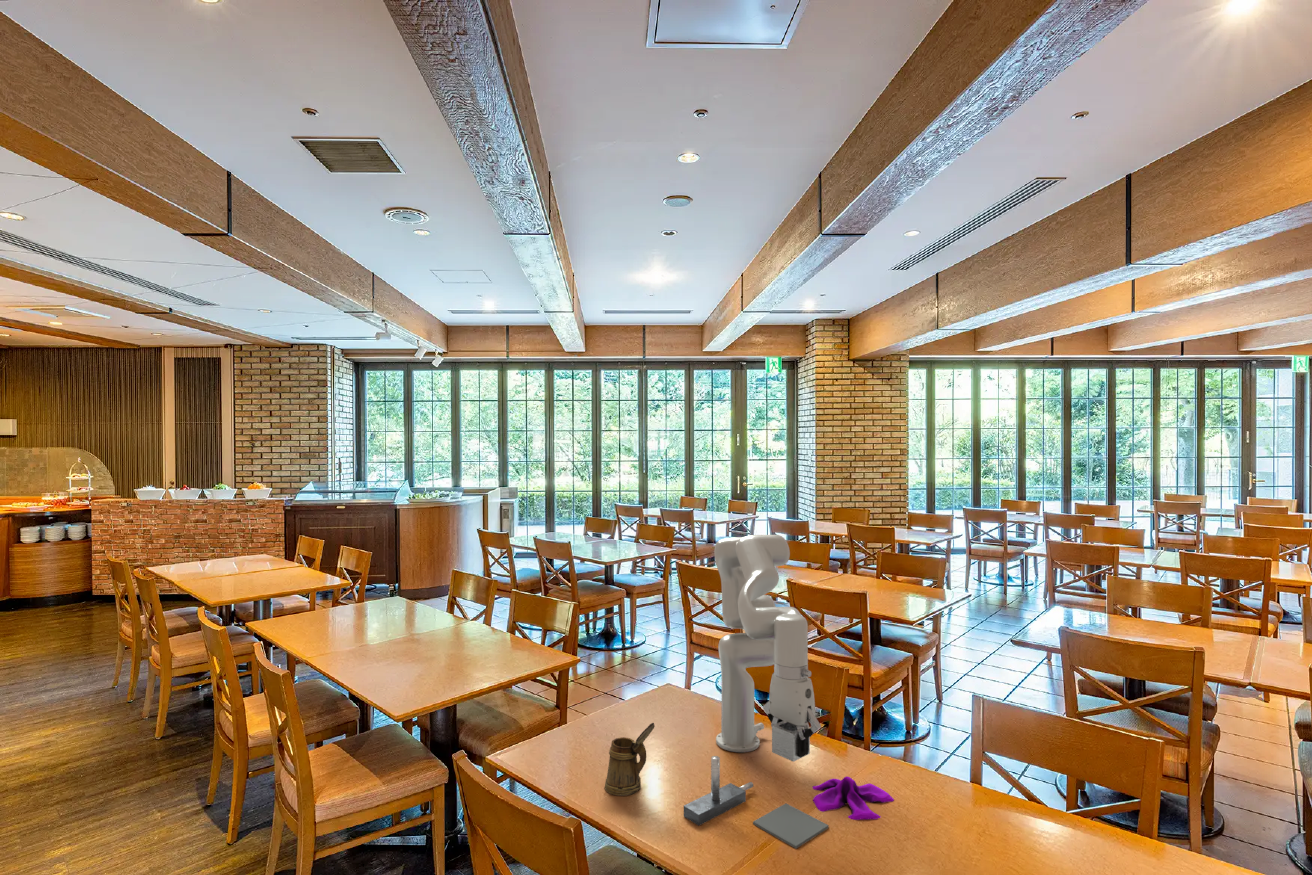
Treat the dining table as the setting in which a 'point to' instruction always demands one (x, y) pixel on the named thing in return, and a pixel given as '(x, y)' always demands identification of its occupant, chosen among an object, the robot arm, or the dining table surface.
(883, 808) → the dining table surface
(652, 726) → the wooden mug
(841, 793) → the cloth
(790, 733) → the steel collar
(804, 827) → the slate pad
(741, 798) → the block
